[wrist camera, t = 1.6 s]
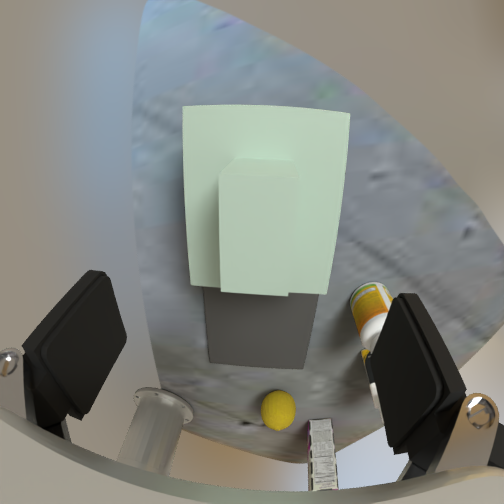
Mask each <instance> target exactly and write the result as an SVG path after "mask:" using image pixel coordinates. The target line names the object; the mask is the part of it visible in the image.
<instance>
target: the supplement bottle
mask: <svg viewBox="0 0 504 504" xmlns="http://www.w3.org/2000/svg"><path fill="white" fill-rule="evenodd" d="M392 300H393V299H392V297H391V295H390V293H389V291H388V289H387V288H386V287H385V286H384V285H383V284H381V283H378V282H370V283H366V284H364V285H362V286H360V287H359V288H357V289H356V290H355V292H354V293H353V295H352V297H351V300H350V307H351V310H352V313H353V316H354V320H355V323H356V326H357V329H358V333H359V336H360V339H361V342H362V344H363V346H364V347H365V348H366V349H368V350H369V351H370V352H371V354H372V352H373V349H374V347H375V345H376V342H377V340H378V337H379V335H380V332H381V330H382V327H383V325H384V322H385V319H386V317H387V314H388V311H389V309H390V306H391V303H392Z"/></svg>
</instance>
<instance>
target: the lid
mask: <svg viewBox="0 0 504 504" xmlns="http://www.w3.org/2000/svg"><path fill="white" fill-rule="evenodd" d="M349 125H350V113H344V112H336V111H328V110H320V109H310V108H299V107H285V106H266V105H201V106H183V170H184V196H185V215H186V231H187V246H188V258H189V270H190V281H191V285H195V286H207V287H219V288H221V292H231V293H245V294H259V295H274V296H288V292H291V293H310V294H327V289H328V284H329V278H330V273H331V267H332V262H333V256H334V250H335V244H336V238H337V231H338V225H339V218H340V211H341V203H342V196H343V188H344V179H345V170H346V160H347V150H348V138H349Z"/></svg>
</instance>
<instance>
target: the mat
mask: <svg viewBox="0 0 504 504" xmlns="http://www.w3.org/2000/svg"><path fill="white" fill-rule="evenodd" d="M203 292H204V305H205V317H206V328H207V338H208V349H209V358H210V363H219V364H228V365H239V366H250V367H264V368H281V369H303V367H304V363H305V359H306V355H307V350H308V346H309V341H310V336H311V332H312V327H313V322H314V317H315V312H316V307H317V302H318V296H319V294H310V293H291V292H288V296H274V295H259V294H245V293H231V292H221V288H219V287H207V286H203Z"/></svg>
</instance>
